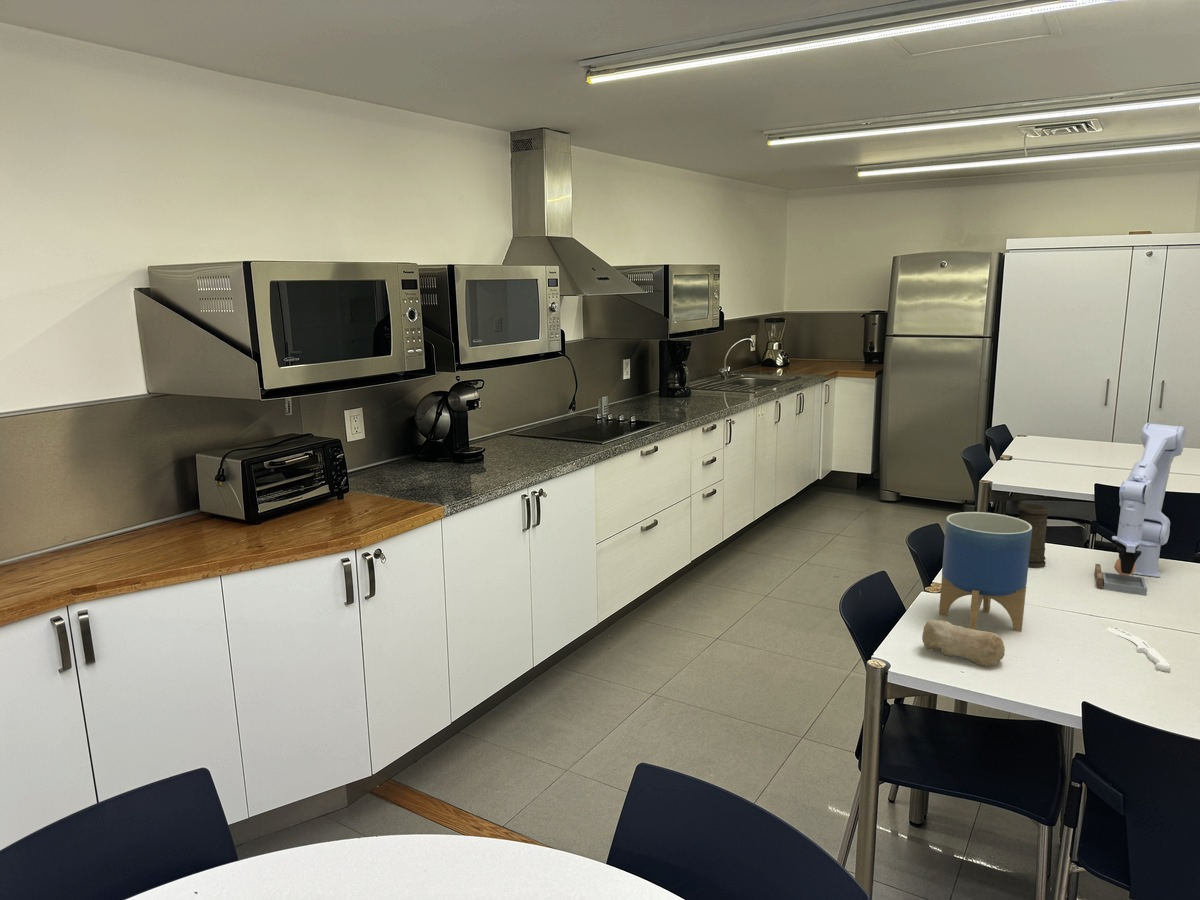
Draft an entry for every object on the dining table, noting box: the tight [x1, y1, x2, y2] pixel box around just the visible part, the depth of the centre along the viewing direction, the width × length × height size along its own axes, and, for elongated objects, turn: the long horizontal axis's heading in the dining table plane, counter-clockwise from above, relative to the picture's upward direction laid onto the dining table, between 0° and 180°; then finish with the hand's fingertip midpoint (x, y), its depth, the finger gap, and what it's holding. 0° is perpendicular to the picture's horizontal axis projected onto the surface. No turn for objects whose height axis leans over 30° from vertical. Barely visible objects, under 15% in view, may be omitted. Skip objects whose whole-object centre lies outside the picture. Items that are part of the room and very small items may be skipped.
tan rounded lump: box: [921, 619, 1006, 667], centre depth 187 cm, size 9×17×10 cm
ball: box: [1114, 558, 1136, 576], centre depth 229 cm, size 5×5×5 cm
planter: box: [938, 511, 1032, 633], centre depth 204 cm, size 19×19×26 cm
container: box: [1017, 503, 1050, 569], centre depth 249 cm, size 9×9×18 cm
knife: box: [1105, 626, 1172, 673], centre depth 194 cm, size 30×2×8 cm
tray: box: [1102, 571, 1148, 596], centre depth 230 cm, size 10×10×2 cm
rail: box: [1093, 563, 1103, 590], centre depth 235 cm, size 14×1×3 cm, turn 152°
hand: (1125, 570), depth 230 cm, fingers closed on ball, 5 cm apart
